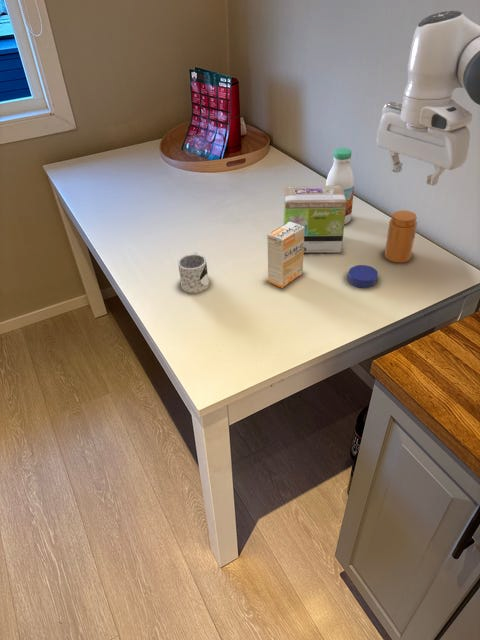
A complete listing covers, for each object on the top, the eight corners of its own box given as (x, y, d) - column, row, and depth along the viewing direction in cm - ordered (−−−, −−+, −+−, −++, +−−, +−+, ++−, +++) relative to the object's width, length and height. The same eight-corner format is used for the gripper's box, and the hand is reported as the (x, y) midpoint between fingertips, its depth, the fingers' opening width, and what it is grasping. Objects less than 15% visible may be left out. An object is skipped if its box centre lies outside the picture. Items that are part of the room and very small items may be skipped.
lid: (376, 273, 117) (378, 265, 116) (376, 289, 112) (378, 281, 111) (348, 271, 119) (349, 263, 117) (347, 286, 114) (347, 279, 112)
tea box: (283, 254, 126) (284, 202, 117) (283, 235, 134) (283, 185, 125) (342, 253, 125) (347, 200, 116) (338, 234, 133) (342, 183, 124)
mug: (207, 292, 115) (205, 268, 111) (180, 293, 115) (176, 269, 111) (210, 269, 123) (208, 246, 119) (184, 270, 123) (181, 247, 119)
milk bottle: (332, 228, 136) (337, 157, 124) (319, 217, 142) (322, 148, 129) (356, 222, 138) (363, 152, 125) (342, 211, 144) (347, 143, 131)
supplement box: (282, 289, 114) (283, 240, 106) (267, 282, 117) (266, 234, 109) (304, 274, 119) (305, 226, 111) (288, 267, 121) (289, 220, 113)
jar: (405, 248, 126) (412, 208, 119) (414, 261, 121) (422, 220, 114) (380, 250, 125) (386, 210, 118) (389, 263, 120) (396, 222, 113)
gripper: (373, 103, 101) (366, 168, 109) (459, 124, 87) (443, 196, 96) (394, 97, 103) (386, 160, 112) (480, 116, 90) (463, 187, 98)
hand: (413, 177), depth 104 cm, fingers open, 8 cm apart
